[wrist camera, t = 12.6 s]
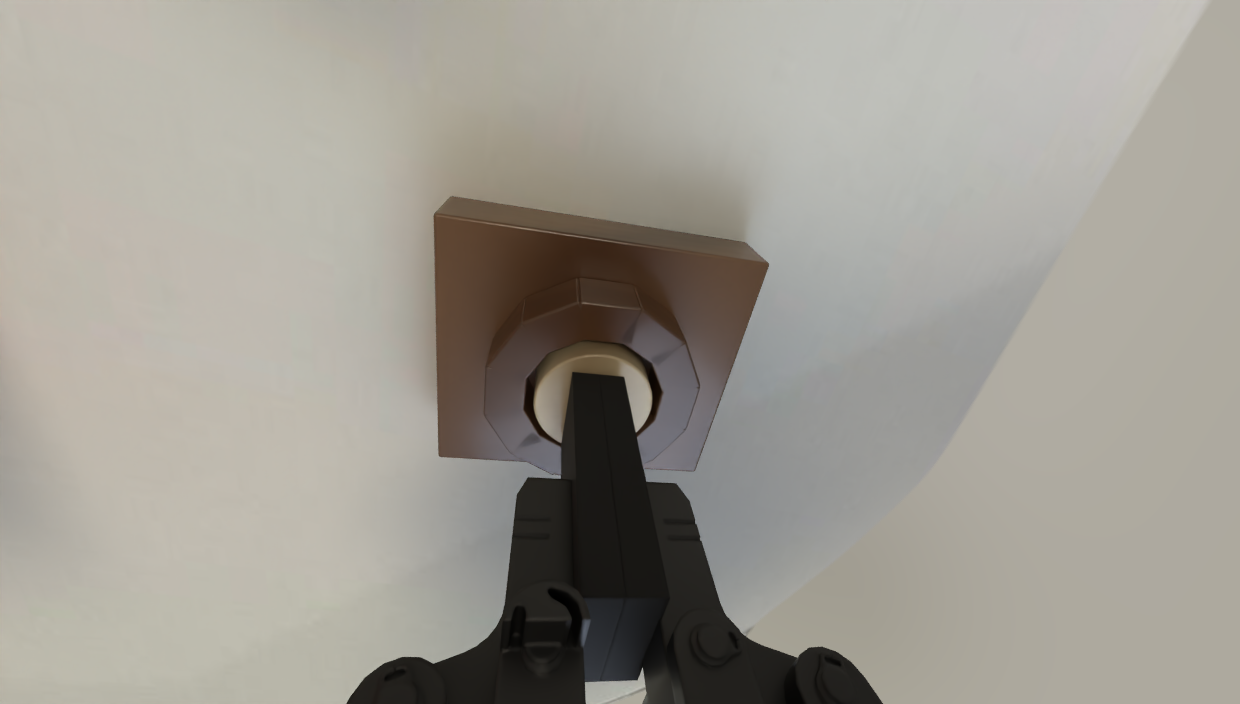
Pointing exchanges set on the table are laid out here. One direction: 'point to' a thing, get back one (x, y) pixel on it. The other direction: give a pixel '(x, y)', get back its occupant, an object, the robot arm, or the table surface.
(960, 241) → the table surface
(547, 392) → the button
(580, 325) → the button block
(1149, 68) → the table surface
